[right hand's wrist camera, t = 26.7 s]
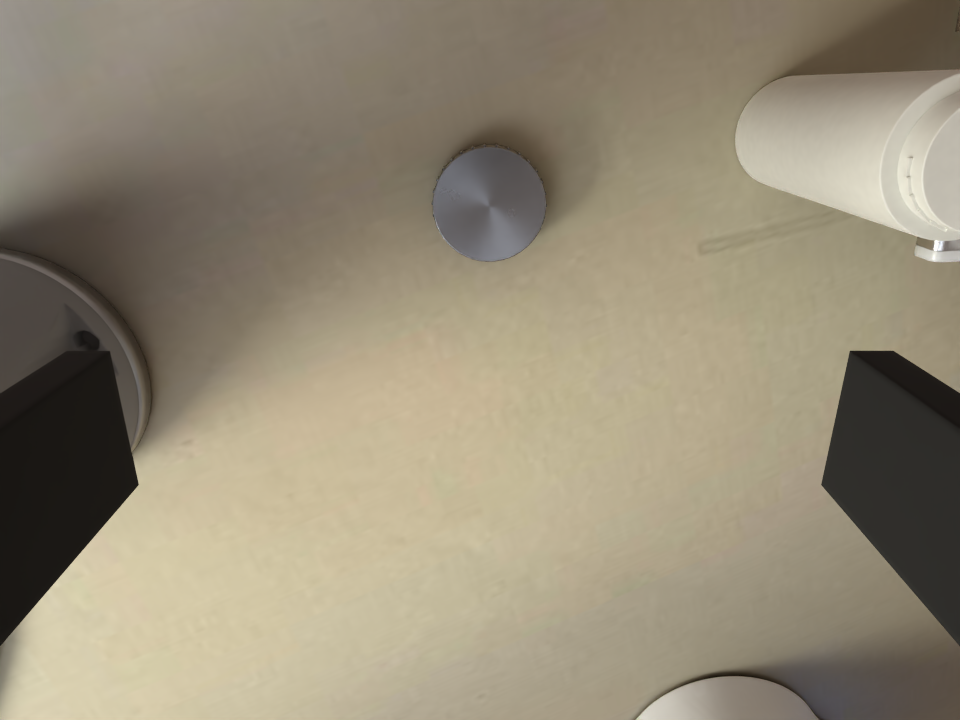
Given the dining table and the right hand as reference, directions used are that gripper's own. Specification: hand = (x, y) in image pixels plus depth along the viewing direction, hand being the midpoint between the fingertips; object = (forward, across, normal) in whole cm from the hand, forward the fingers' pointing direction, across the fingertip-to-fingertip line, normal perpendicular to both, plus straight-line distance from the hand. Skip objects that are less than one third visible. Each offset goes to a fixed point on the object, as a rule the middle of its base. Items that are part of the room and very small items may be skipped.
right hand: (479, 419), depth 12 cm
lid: (+25, 0, 0) cm, 25 cm away
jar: (+26, +16, +3) cm, 31 cm away
